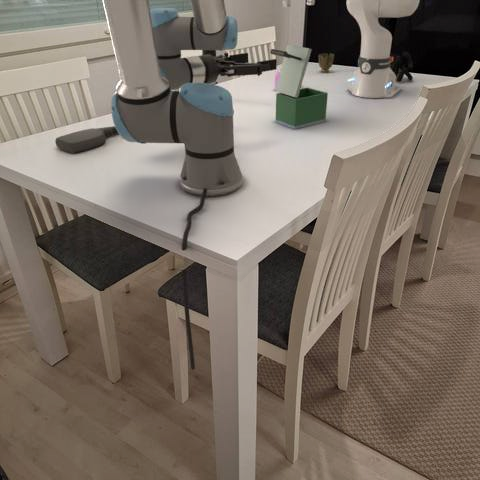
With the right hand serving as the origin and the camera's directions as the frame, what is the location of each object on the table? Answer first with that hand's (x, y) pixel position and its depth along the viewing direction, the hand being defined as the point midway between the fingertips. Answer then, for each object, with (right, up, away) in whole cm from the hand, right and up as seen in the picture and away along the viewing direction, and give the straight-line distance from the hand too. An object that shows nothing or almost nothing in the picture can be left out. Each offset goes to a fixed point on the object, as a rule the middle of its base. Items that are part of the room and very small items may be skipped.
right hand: (298, 6), depth 132 cm
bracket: (+4, -4, +60) cm, 60 cm away
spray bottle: (-61, -38, +8) cm, 73 cm away
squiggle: (+55, +3, +69) cm, 88 cm away
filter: (-29, -13, +47) cm, 57 cm away
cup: (+24, +13, +86) cm, 90 cm away
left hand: (-11, -16, 0) cm, 20 cm away
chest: (+3, -29, +20) cm, 35 cm away
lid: (0, -16, +9) cm, 18 cm away
